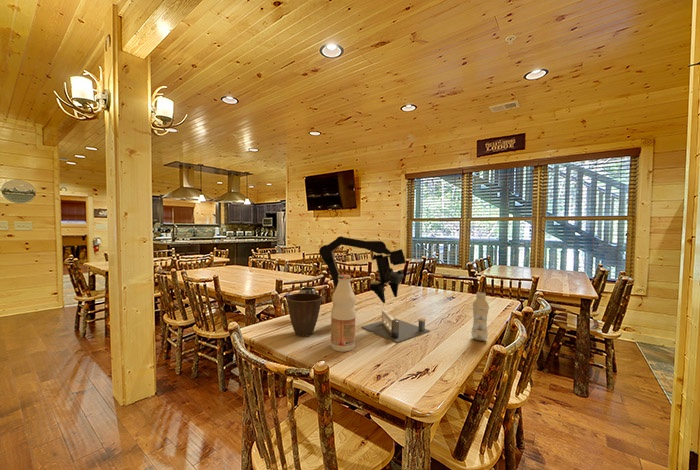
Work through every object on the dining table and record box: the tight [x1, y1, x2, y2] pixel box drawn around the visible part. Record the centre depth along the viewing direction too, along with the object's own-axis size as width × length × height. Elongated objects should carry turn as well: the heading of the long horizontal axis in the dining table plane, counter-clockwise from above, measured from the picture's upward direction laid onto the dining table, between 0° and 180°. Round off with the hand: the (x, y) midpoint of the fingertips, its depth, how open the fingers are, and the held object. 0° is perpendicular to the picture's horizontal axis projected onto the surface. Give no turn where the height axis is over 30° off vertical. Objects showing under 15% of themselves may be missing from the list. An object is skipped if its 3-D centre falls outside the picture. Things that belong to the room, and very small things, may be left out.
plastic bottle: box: [470, 291, 490, 342], centre depth 122 cm, size 6×7×20 cm
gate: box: [381, 309, 395, 334], centre depth 131 cm, size 16×2×6 cm, turn 10°
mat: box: [361, 317, 430, 344], centre depth 132 cm, size 22×22×1 cm
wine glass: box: [299, 286, 316, 294], centre depth 145 cm, size 8×8×15 cm
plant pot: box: [286, 292, 322, 338], centre depth 125 cm, size 15×15×16 cm
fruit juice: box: [330, 274, 357, 353], centre depth 111 cm, size 9×9×28 cm
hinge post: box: [391, 319, 400, 339], centre depth 121 cm, size 3×3×8 cm
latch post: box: [417, 317, 427, 332], centre depth 130 cm, size 2×2×6 cm
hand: (390, 299), depth 135 cm, fingers open, 9 cm apart
